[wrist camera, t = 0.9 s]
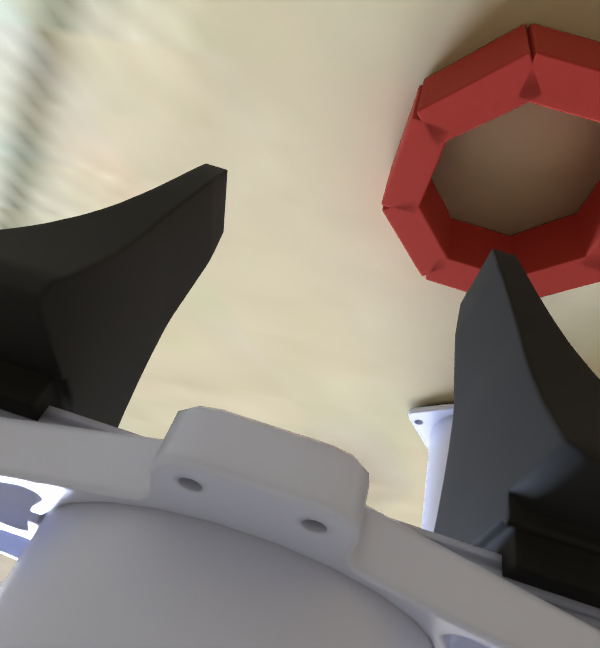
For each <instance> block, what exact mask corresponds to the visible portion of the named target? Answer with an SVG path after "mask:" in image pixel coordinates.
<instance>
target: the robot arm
mask: <svg viewBox="0 0 600 648" xmlns="http://www.w3.org/2000/svg"><path fill="white" fill-rule="evenodd" d="M226 184H227V170H226V169H222V168H219V167H216V166H212V165H209V164H204V165H201V166H199V167H197V168H195V169H193V170H191V171H189V172H187V173H185V174H183V175H181V176H179V177H177V178H175V179H173V180H171V181H169V182H167V183H165V184H163V185H160V186H158V187H156V188H154V189H152V190H150V191H148V192H145V193H143V194H140V195H138V196H136V197H133V198H131V199H128V200H126V201H124V202H121V203H119V204H116V205H113V206H110V207H107V208H104V209H101V210H98V211H94V212H91V213H88V214H84V215H81V216H76V217H72V218H67V219H63V220H59V221H54V222H50V223H45V224H39V225H33V226H26V227H19V228H11V229H3V230H0V553H2V554H4V555H6V556H9V557H11V558H13V559H16V560H17V562H16V563H15V565H14V566H13V568H12V570H11V571H10V573H9V574H8V576H7V577H6V579H5V581H4V582H3V584H2V585H1V587H0V648H600V379H599V378H598V377H597V376H596V375H595V374H594V373H593V372H592V370H591V369H590V368H589V367H588V366H587V364H586V363H585V362H584V361H583V360H582V358H581V357H580V356H579V355H578V353H577V352H576V351H575V350H574V348H573V347H572V346H571V344H570V343H569V342H568V340H567V339H566V337H565V336H564V335H563V333H562V332H561V330H560V329H559V327H558V326H557V324H556V323H555V321H554V320H553V318H552V317H551V315H550V314H549V312H548V310H547V309H546V307H545V305H544V304H543V302H542V300H541V299H540V297H539V295H538V293H537V292H536V290H535V288H534V286H533V285H532V283H531V281H530V279H529V277H528V276H527V274H526V272H525V270H524V268H523V267H522V265H521V263H520V261H519V260H518V258H517V256H516V255H513V254H510V253H506V252H503V251H500V250H496V249H493V248H492V250H491V252H490V254H489V255H488V257H487V259H486V261H485V262H484V264H483V266H482V268H481V269H480V271H479V273H478V275H477V276H476V278H475V280H474V282H473V283H472V285H471V287H470V289H469V290H468V292H467V294H466V296H465V297H464V299H463V301H462V303H461V305H460V311H459V316H458V322H457V328H456V334H455V367H454V404H445V405H436V406H427V407H418V408H412V409H410V410H409V413H408V417H409V419H410V420H411V422H412V424H413V425H414V427H415V429H416V430H417V432H418V434H419V435H420V437H421V439H422V440H423V442H424V444H425V445H426V447H427V448H428V450H429V454H428V465H427V475H426V486H425V497H424V507H423V518H422V528H419V527H416V526H413V525H410V524H407V523H404V522H401V521H398V520H395V519H392V518H389V517H387V516H386V515H384V514H382V513H380V512H378V511H376V510H374V509H372V508H371V507H369V506H367V505H366V500H367V494H368V489H369V473H368V472H367V470H366V469H365V468H364V467H363V466H362V465H361V464H360V463H359V462H358V460H357V459H356V458H355V457H354V456H353V455H351V454H349V453H347V452H345V451H343V450H341V449H339V448H337V447H335V446H333V445H330V444H327V443H324V442H321V441H318V440H315V439H312V438H309V437H306V436H302V435H299V434H296V433H293V432H290V431H287V430H284V429H281V428H278V427H275V426H272V425H269V424H265V423H262V422H259V421H256V420H253V419H250V418H247V417H244V416H241V415H238V414H235V413H232V412H228V411H225V410H222V409H216V408H210V407H204V406H198V407H194V408H190V409H185V410H181V411H178V413H177V415H176V417H175V419H174V421H173V423H172V425H171V427H170V429H169V431H168V432H167V434H166V436H165V438H164V439H157V438H150V437H144V436H141V435H138V434H135V433H132V432H129V431H126V430H123V429H120V428H118V426H119V423H120V421H121V419H122V416H123V414H124V412H125V410H126V407H127V405H128V403H129V401H130V399H131V396H132V394H133V392H134V390H135V388H136V386H137V383H138V381H139V379H140V377H141V375H142V373H143V371H144V369H145V367H146V365H147V363H148V361H149V359H150V357H151V354H152V352H153V351H154V349H155V347H156V345H157V343H158V341H159V339H160V337H161V335H162V333H163V331H164V329H165V327H166V326H167V324H168V322H169V321H170V319H171V317H172V316H173V314H174V313H175V311H176V310H177V308H178V307H179V305H180V304H181V303H182V301H183V300H184V298H185V297H186V295H187V294H188V292H189V291H190V289H191V288H192V286H193V285H194V283H195V282H196V280H197V279H198V277H199V276H200V274H201V273H202V271H203V270H204V268H205V267H206V265H207V264H208V262H209V261H210V259H211V257H212V255H213V253H214V251H215V249H216V247H217V245H218V242H219V240H220V238H221V236H222V234H223V230H224V215H225V199H226Z"/></svg>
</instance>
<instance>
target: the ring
mask: <svg viewBox="0 0 600 648" xmlns="http://www.w3.org/2000/svg"><path fill="white" fill-rule="evenodd" d="M528 102H531V103H534V104H538V105H541V106H544V107H548V108H551V109H555V110H558V111H562V112H565V113H569V114H572V115H576V116H579V117H582V118H586V119H589V120H593V121H596V122H600V42H597V41H594V40H590V39H587V38H583V37H580V36H576V35H572V34H569V33H565V32H562V31H558V30H555V29H551V28H548V27H544V26H541V25H537V24H531V25H530V26H529V29H528V31H527V29H526V26H525V25H524V24H523V25H521V26H519V27H518V28H516V29H514V30H512V31H510V32H509V33H507V34H505V35H503V36H502V37H500V38H498V39H496V40H494V41H493V42H491V43H489V44H487V45H485V46H484V47H482V48H480V49H478V50H476V51H475V52H473V53H471V54H469V55H467V56H466V57H464V58H462V59H460V60H458V61H457V62H455V63H453V64H451V65H449V66H448V67H446V68H444V69H442V70H440V71H439V72H437V73H435V74H433V75H432V76H430V77H428V78H426V79H425V80H424V84H423V85H420V86H419V89H418V92H417V95H416V98H415V101H414V103H413V106H412V109H411V112H410V115H409V118H408V121H407V124H406V127H405V130H404V132H403V135H402V138H401V141H400V144H399V147H398V150H397V153H396V156H395V158H394V161H393V164H392V167H391V171H390V174H389V178H388V182H387V185H386V189H385V193H384V196H383V200H382V205H383V212H384V214H385V215H386V217H387V219H388V221H389V222H390V224H391V226H392V227H393V229H394V231H395V232H396V234H397V236H398V237H399V239H400V241H401V242H402V244H403V246H404V247H405V249H406V251H407V252H408V254H409V256H410V257H411V259H412V261H413V262H414V264H415V266H416V267H417V269H418V271H419V272H420V274H421V275H422V276H424V275H426V279H427V280H430V281H433V282H436V283H439V284H443V285H446V286H449V287H452V288H456V289H459V290H462V291H465V292H468V290H469V289H470V287H471V285H472V283H473V282H474V280H475V278H476V276H477V275H478V273H479V271H480V269H481V268H482V266H483V264H484V262H485V261H486V259H487V257H488V255H489V254H490V252H491V250H492V248H493V249H496V250H500V251H503V252H506V253H510V254H513V255H516V256H517V258H518V260H519V261H520V263H521V265H522V267H523V268H524V270H525V272H526V274H527V276H528V277H529V279H530V281H531V283H532V285H533V286H534V288H535V290H536V292H537V293H538V295H539V297H543V296H547V295H551V294H555V293H559V292H562V291H566V290H570V289H574V288H577V287H581V286H585V285H589V284H593V283H596V282H600V181H599V182H598V183H597V185H596V186H595V188H594V189H593V191H592V192H591V193H590V195H589V196H588V198H587V199H586V201H585V202H584V203H583V205H582V206H581V208H580V209H579V211H578V212H577V213H576V214H573V215H570V216H567V217H564V218H561V219H559V220H556V221H553V222H550V223H547V224H544V225H541V226H538V227H535V228H532V229H529V230H526V231H523V232H520V233H517V234H514V235H511V236H508V235H505V234H502V233H498V232H495V231H492V230H488V229H485V228H482V227H479V226H475V225H472V224H469V223H465V222H462V221H459V220H456V219H452V218H451V216H450V214H449V212H448V210H447V208H446V206H445V204H444V202H443V200H442V199H441V197H440V195H439V193H438V191H437V189H436V187H435V185H434V183H433V181H432V179H431V178H432V175H433V173H434V171H435V168H436V166H437V163H438V161H439V159H440V156H441V154H442V151H443V149H444V147H445V144H446V142H447V140H449V139H452V138H454V137H456V136H458V135H460V134H462V133H464V132H466V131H469V130H471V129H473V128H475V127H477V126H479V125H481V124H483V123H485V122H488V121H490V120H492V119H494V118H496V117H498V116H500V115H502V114H504V113H507V112H509V111H511V110H513V109H515V108H517V107H519V106H521V105H524V104H526V103H528Z"/></svg>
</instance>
